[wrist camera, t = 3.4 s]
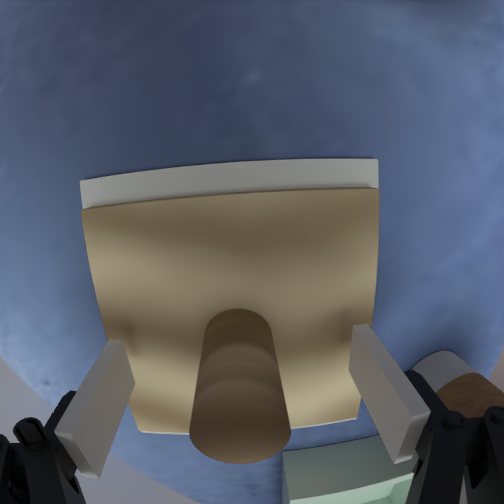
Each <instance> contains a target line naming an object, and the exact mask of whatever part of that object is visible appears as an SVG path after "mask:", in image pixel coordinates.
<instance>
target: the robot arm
mask: <svg viewBox="0 0 504 504" xmlns="http://www.w3.org/2000/svg"><path fill="white" fill-rule="evenodd" d="M348 371H349V373H350V375H351V377H352V379H353V381H354V383H355V385H356V387H357V389H358V391H359V393H360V395H361V397H362V399H363V401H364V403H365V405H366V407H367V409H368V411H369V413H370V415H371V417H372V419H373V421H374V423H375V426H376V428H377V430H378V432H379V434H380V436H381V438H382V440H383V442H384V444H385V446H386V449H387V451H388V453H389V455H390V457H391V459H392V461H393V463H394V464H396V463H400V462H403V461H406V460H409V459H411V458H412V456H413V454H414V451H415V450H416V452H417V454H418V456H419V458H418V460H417V462H416V465H415V467H414V468H413V470H412V472H411V473H414V475H413V478H412V482H411V485H410V489H409V492H408V496H407V499H406V502H405V504H459V501H460V495H461V489H462V482H463V475H464V482H465V489H466V496H467V504H504V407H501V406H492V407H489V408H488V409H487V410H486V411H485V413H484V415H483V417H474V418H465V416H464V415H463V414H461V413H459V412H457V411H453V410H448V409H447V407H446V406H445V405H444V403H443V402H442V401H441V399H440V398H439V397H438V395H437V394H436V393H435V392H434V390H432V388H431V386H430V385H429V384H428V382H427V381H426V380H425V379H424V377H423V376H422V375H421V374H419V373H418V372H416V371H414V370H409V371H405V372H403V371H402V370H401V368H400V367H399V366H398V364H397V363H396V361H395V360H394V359H393V357H392V356H391V355H390V353H389V352H388V350H387V349H386V348H385V346H384V345H383V344H382V342H381V341H380V340H379V338H378V337H377V336H376V334H375V333H374V332H373V330H372V329H371V328H370V326H369V325H368V324H360V325H353V331H352V341H351V351H350V360H349V368H348ZM134 386H135V380H134V377H133V374H132V370H131V367H130V364H129V360H128V357H127V353H126V350H125V346H124V342H123V340H109V341H108V343H107V344H106V346H105V347H104V349H103V350H102V352H101V353H100V355H99V357H98V358H97V360H96V361H95V363H94V365H93V366H92V368H91V369H90V371H89V373H88V374H87V376H86V377H85V379H84V381H83V382H82V384H81V386H80V387H79V389H78V391H69V392H68V393H67V394H66V395H64V396H63V397H62V399H61V400H60V402H59V403H58V406H57V407H56V408H55V410H54V412H53V413H52V415H51V416H50V418H49V420H48V421H47V423H46V425H45V426H44V427H43V425H42V424H41V422H40V421H39V420H38V419H37V418H32V417H29V418H24V419H22V420H20V421H19V422H18V423H16V425H15V426H14V429H13V433H14V435H15V436H16V438H17V439H18V441H19V442H20V443H10V442H9V441H8V439H7V438H6V437H5V436H4V435H2V434H0V504H86V502H85V499H84V496H83V494H82V491H81V488H80V485H79V482H78V479H77V478H76V476H75V475H74V474H75V471H76V469H77V468H78V469H79V471H80V473H81V474H82V475H83V476H86V477H90V478H95V479H99V478H100V475H101V473H102V470H103V467H104V464H105V461H106V459H107V456H108V453H109V450H110V448H111V445H112V442H113V440H114V437H115V434H116V432H117V429H118V426H119V424H120V421H121V419H122V416H123V413H124V411H125V408H126V406H127V403H128V401H129V398H130V396H131V393H132V391H133V388H134Z"/></svg>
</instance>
